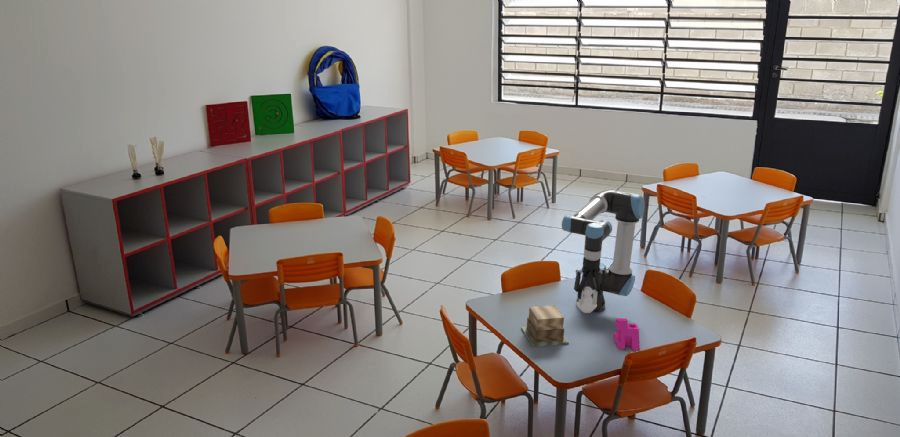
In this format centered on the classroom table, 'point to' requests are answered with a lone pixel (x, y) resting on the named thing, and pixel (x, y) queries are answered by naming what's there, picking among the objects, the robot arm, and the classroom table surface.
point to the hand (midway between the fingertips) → (587, 304)
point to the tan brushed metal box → (545, 326)
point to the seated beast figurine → (587, 301)
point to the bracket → (626, 334)
